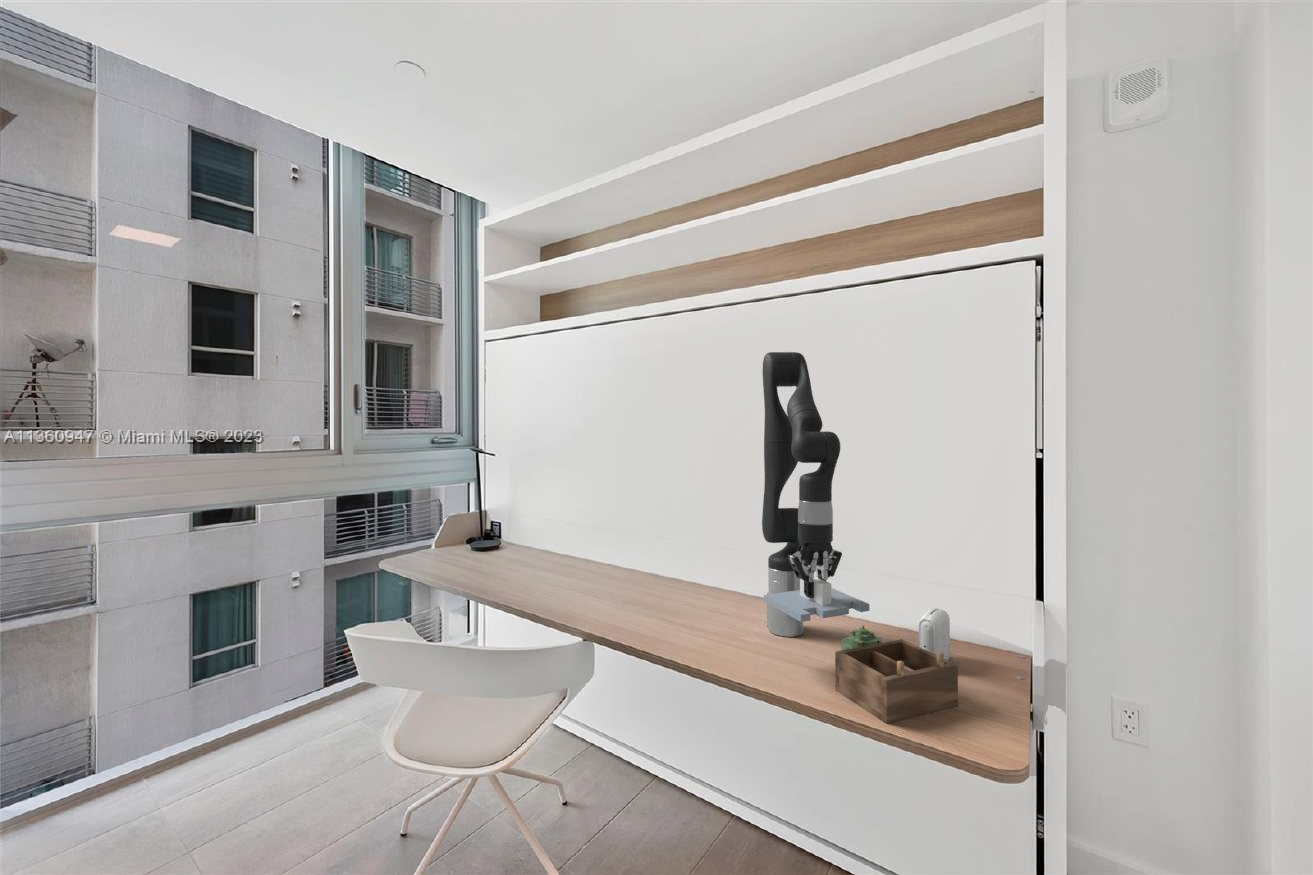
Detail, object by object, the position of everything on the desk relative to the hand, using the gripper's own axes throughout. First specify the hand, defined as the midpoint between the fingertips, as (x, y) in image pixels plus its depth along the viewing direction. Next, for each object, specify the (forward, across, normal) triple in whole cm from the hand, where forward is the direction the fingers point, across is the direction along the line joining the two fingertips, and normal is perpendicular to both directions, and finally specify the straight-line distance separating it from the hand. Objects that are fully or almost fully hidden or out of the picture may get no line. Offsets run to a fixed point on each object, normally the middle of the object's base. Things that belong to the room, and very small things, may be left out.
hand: (815, 596), depth 120 cm
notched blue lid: (+2, 0, 0) cm, 2 cm away
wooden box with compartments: (+16, -7, +16) cm, 24 cm away
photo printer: (+17, -28, +7) cm, 33 cm away
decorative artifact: (+17, -16, -3) cm, 24 cm away
